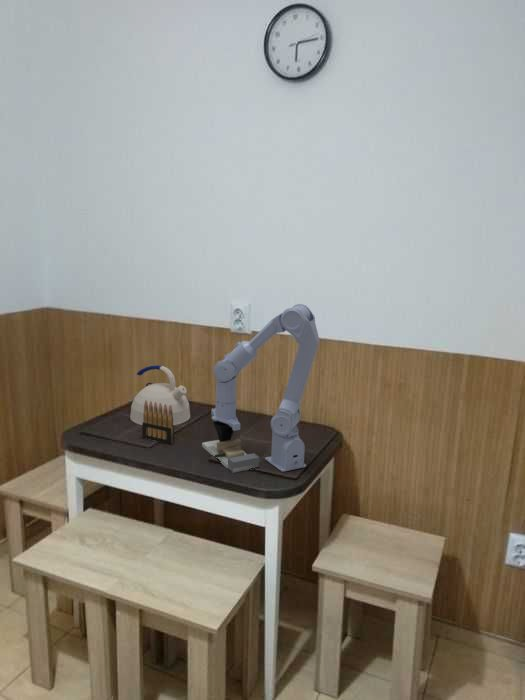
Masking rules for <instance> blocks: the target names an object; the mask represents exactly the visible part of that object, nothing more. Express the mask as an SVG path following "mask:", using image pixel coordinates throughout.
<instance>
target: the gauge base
mask: <svg viewBox="0 0 525 700" xmlns="http://www.w3.org/2000/svg"><path fill="white" fill-rule="evenodd" d="M217 442H219V439H216V440H210V441H205V442H204V441H203V442H202V443H201V447H202V448H203V449H204V450H205V451H206V452H207V453H209V454H210V455H211V456H212V455H213V456H212V457H214V456H215V455H216V454H218V453H217ZM216 458H218V459H219V460H220V461H221V462H220V463H221V464H222V465H223V466H224V467H225V468H226V469H227V470H229V471H230V472H231V473H232V474H235V473H239V472H245V471H248V470H249V469H250V470H252V469H251V468H255V467H259V468H260V456H259V455H258V454H256V453H246V452H245V451H244V455H242V456H237V457H232V458H227V457H226V456H222V457H216ZM216 458H215V459H216ZM255 469H256V468H255ZM250 470H249V471H250Z"/></svg>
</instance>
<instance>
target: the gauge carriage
mask: <svg viewBox="0 0 525 700" xmlns="http://www.w3.org/2000/svg"><path fill="white" fill-rule="evenodd" d="M244 452H245V451H244V450H243V449H242V440H241V439H240V438H236V439H231V440H228V441H223V442H217V453H218V454H216V455H215V457H222V456H226V457H227V458H232V457H237V456H242V455H244ZM215 457H214V458H215Z"/></svg>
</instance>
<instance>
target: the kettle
mask: <svg viewBox="0 0 525 700" xmlns="http://www.w3.org/2000/svg"><path fill="white" fill-rule="evenodd" d="M151 370H159V371H163V372H164V373H165V374H166V376H167V378H168V381H169V382H168V383H166V382H156V383H152V382H147V383H146V384H145V387H144V388H142V389H141V390H140V391H139V392H138V393H137V394H136V395H135V397H134V399H133V401H132V403H131V406H130V416H129V418H130V421H131V422H133V423H134V424H137V425H139V426H142V423H143V414H144V404H145V401H147V403H148V412H149V404H150V401H151V402H152V405H153V411H154V404H155V402H156V403H157V408H158V409H159V404H160V403H161V405H162V412H163V410H164V405H165V404H166V406H167V413H168V411H169V406H170V405H171V407H172V414H173V425H174V426H177V425H181V424H184V423H186V422H187V421H189V420H190V418H191V410H190V403H189V401H188V398H187V396H186V394H187V388H186V387H185V386H184V385H179V386H178V387H177V386H176V379H175V378H176V377H175V375H174V373H173V372H172V371H171V370H170V369H169V368H168V367H166V366H163V365H150V366H146V367H143V368H141V369H140V370H138V372H137V373H136V375H137V376H142V375H143V374H144V373H146V372H148V371H151Z"/></svg>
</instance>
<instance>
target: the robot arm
mask: <svg viewBox="0 0 525 700" xmlns="http://www.w3.org/2000/svg"><path fill="white" fill-rule="evenodd" d="M285 332H288V334H290V335H292V336H293V338H294V340H296V343H297V344H298V348H297V352H296V355H295V358H294V361H293V365H292V369H291V372H290V374H289V379H288V381H287V384H286V388H285V391H284V394H283V397H282V400H281V402H280V404H279V406H278V409H277V412H276V413H275V415H273V416H272V417H271V419H270V427H271V431H272V434H271V435H272V436H271V452H270V453H271V454H270V456H267V457H266V456H265V457H264V460H265V461H267V462H268V463H269V464H270V465H272V466H273V467H275V468H276V469H278V470H279V471H280V472H288V471H293V470H297V469H302V468H306V467H307V465H306V463H305V452H306V451H305V448H306V447H305V446H306V445H305V443H304V441H303V440H302V439H301V438H300V436H299V428H298V426H297V425H298V423H300V421H301V417H302V416H301V406H302V399H303V396H304V392H305V389H306V386H307V382H308V379H309V376H310V373H311V371H312V370H311V369H312V366H313V363H314V361H315V358H316V353H317V351H318V348H319V344H320V336H319V333H318V329H317V324H316V317H315V315H314V313H313V312H312V310H311V309H310V308H309V307H308V306H307V305H305V304H302V303H297V304H295V305H293V306H292V307H289V308H286V309H285V310H284V311H283V312H282V313H280V314H278V315H276V316H275V317H274V318H272V319H271V320H270V321H269V322H268V323H267V324H266V325H265V326H264V327H262V329H260V331H258V333H256V334H255V336H253V337H252V338H251V339H250V340H249V341H248V340H242V341H238V342H237V343H236V344H235V345H234V346H235V348H234V349H232V351H230V352H229V353H226V354H225V355H224V356H223V358H224V359H222V360H219V361H217V362H216V364H215V365H214V367H213V371H212V372H213V373H212V374H213V376H214V378H215V380H216V381H215V382H216V383H215V407H214V408H211V414H210V415H211V420H212V421H213V425H214V428H215V430H216V433H217V436H218V437H217V438H218V440H219V442H223V441H228V440H232V437H233V434H234V432H236V431H241V423H240V421H239V420H238V417H237V415H236V407H237V405H236V404H237V377H238V375H239V374H240V373H241V371H242V370H243V369H245V368H246V367H247V366H248V365H249V364H251V362H252V361H254V359H256V358H257V357H258V350H259V349H260V348H261V347H262V346H264V345H265V343H267V342H268V341H269V340H270V339H272V338H273V337H275V335H276V334H280V333H285Z"/></svg>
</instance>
